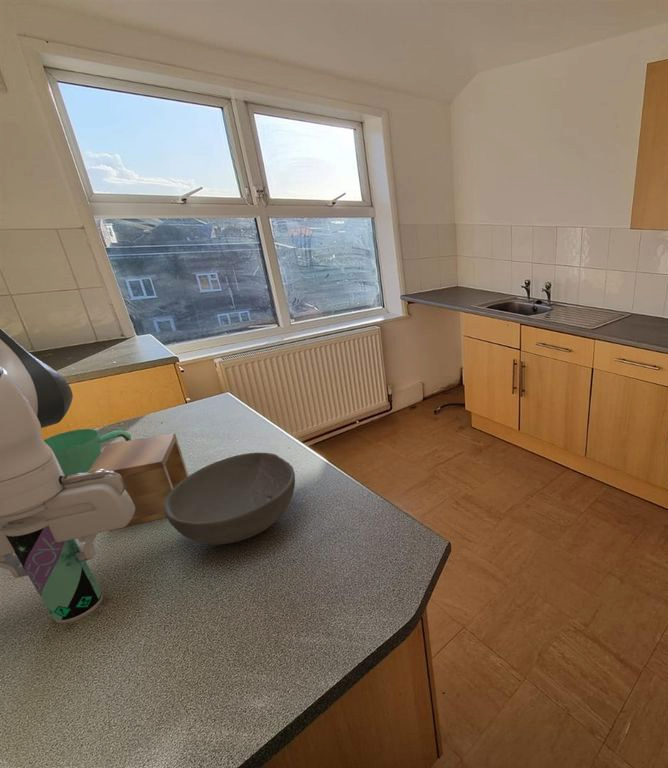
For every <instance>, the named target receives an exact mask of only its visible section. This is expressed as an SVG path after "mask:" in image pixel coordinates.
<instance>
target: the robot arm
mask: <svg viewBox="0 0 668 768" xmlns="http://www.w3.org/2000/svg"><path fill="white" fill-rule="evenodd" d="M73 397H74V393H73V390H72V388H71V386H70V384H69V383H68V381H67V380H66V379H65V378H64V377H63V376H62V375H61V374H60V373H59V372H58V371H56V370H55V369H54V368H52V367H51V366H49V365H48V364H47V363H45V362H43V361H42V360H40V359H38V358H37V357H36V356H34V355H33V354H32V353H30V352H29V351H27V349H25V348H24V347H23V345H20V344H19V343H18V342H17V341H16V340H15V339H13V338H12V336H10V335H9V334H8V333H7V332H6V331H4V330H3V329H2V328H1V327H0V568H2V569H4V570H7V571H10V573H11V575H12V577H13V578H14V579H19V578H22V577H26V576H28V574H27V573H26V571H25V569H24V567H23V566H22V564H21V562H20V561H19V559H18V557H17V555H16V554H15V551H14V549H13V547H12V546H11V544H10V542H9V541H8V539H7V537H6V536H5V534H4V532H5V530H4V529H2V527H4V526H5V525H6V524H8V523H9V522H11V521H13V520H17V519H21V518H25V517H28V516H34V517H42V518H45V517H47V520H46V521H44V522H45V523H48V525H49V528H50V530H51V532H52V534H53V537H54V539H55V540H56V541H57V542H63V541H67V540H72V539H75V540H76V539H77V540H78V541H79V543H84V544H81V545H78V547H79V548H78V550H77V551H76V553H75V556H76V558H78V562H82V561H86V562H87V561H90V560H93V559H94V558H95V556H96V553H97V550H96V548H95V546H94V542H95V539H96V537H97V535H98V534H102V533H105V532H110V531H114V530H119V529H123V528H126V527H127V526H126V525H127V524H128V523H129V522H130V520H131V519H132V517H133V515H134V512H135V506H134V503H133V501H132V500H131V498H130V496H129V494H128V493H127V491H126V490H125V485H124V482H123V479H122V477H121V475H120V474H118V473H115V472H112V471H105V470H104V469H100V470H94V471H91V472H86V473H78V474H72V475H66V476H64V473H63V471H62V469H61V467H60V465H59V463H58V460H57V458H56V456H55V454H54V452H53V450H52V449H51V448H50V447H49V446H48V445H47V444H46V443H45V442H44V440H45V439H43V436H42V429H43V428H47V427H50V426H53V425H57V424H59V423H60V422H61V421H62V420H63V419H64V418H65V416H66V414H67V413H68V411H69V409H70V407H71V405H72V402H73ZM106 474H108V475H106ZM125 526H126V527H125Z"/></svg>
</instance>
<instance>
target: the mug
mask: <svg viewBox="0 0 668 768" xmlns="http://www.w3.org/2000/svg"><path fill="white" fill-rule="evenodd" d="M121 437H122V438H123V439H124V441H129V440H132V437H131V433H130V432H127V431H125V430H123V429H117V430H114V431H110V432H107V433H104V434H102V435H100V432H99V431H98V429H94V428H81V429H80V428H79V429H73V430H69V431H68V430H67V431H64V432H59V433H58V434H54V435H51V436H49V437H46V438H44V439H43V440H44V442H45V443H46V444H47V445H48V446H49V447H50V448H51V449H52V450H53V452H54V454H55V456H56V458H57V460H58V463H59V465H60V467H61V469H62V471H63V473H64V476H66V475H72V474H78V473H86V472H88V470H89V469H90V468H91V466H92V465H93V463H94V462H95V461H96V459H97V458H98V456H99V455H100V454H101V452H102V447H101V444H103V443H105V442H107V441H110V440H112V439H115V438H116V439H117V438H121Z"/></svg>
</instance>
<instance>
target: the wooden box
mask: <svg viewBox="0 0 668 768" xmlns="http://www.w3.org/2000/svg"><path fill="white" fill-rule="evenodd" d="M100 469H104V470H105V471H112V472H115V473H118V474H120V475H121V477H122V479H123V482H124V485H125V490H126V491H127V493H128V494H129V496H130V498H131V500H132V501H133V503H134V506H135V512H134V515H133V517H132V519H131V520H130V522H129V523H128V524H127V525H126V526H125V527H124V528H126V527H130V526H131V527H132V526H135V525H140V524H143V523H147V522H152V521H156V520H161V519H164V518H167V517H166V515H165V512H164V502H165V500H166V498H167V496H168V494H169V493H170V492H171V491H172V489H173V488H174V487H175V486H176V485H177V484H179V483H180V482H181V481H182V480H184V479H185V478H187V477H188V476H189V475H190V474H189V472H188V469H187V466H186V463H185V459H184V455H183V453H182V449H181V447H180V445H179V441H178V438H177V434H176V432H171V433H165V434H160V435H154V436H153V435H152V436H148V437H142V438H135V439H131V440H129V441H125V440H123V441H118V442H112V443H111V442H110V443H107V444H106V445H105V447H104V448H103V449H102V450H101V454H100V455H99V456H98V458H97V459H96V461H95V462H94V463H93V465H92V466H91V468H90V469H89V470H88V472H91V471H94V470H100ZM106 475H108V474H106Z"/></svg>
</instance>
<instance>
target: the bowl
mask: <svg viewBox="0 0 668 768" xmlns="http://www.w3.org/2000/svg"><path fill="white" fill-rule="evenodd" d="M188 475H189V476H188V477H187V478H185V479H184V480H182V481H181V482H180V483H179V484H177V485H176V486H175V487H174V488H173V489H172V491H171V492H170V493H169V494H168V496H167V498H166V500H165V502H164V512H165V515H166V517H165V518H166V519H167V521H168V522H169V523H170V525H171V526H172V527H173V528H174V529H175V530H176V531H177V532H178V533H179V534H181V536H183V537H185V538H187V539H189V540H191V541H193V542H196V543H199V544H200V543H201V544H205V545H228V544H233V543H237V542H241V541H244V540H247V539H249V538H252V537H254V536H256V535H259V534H260V533H262V532H264V531H265V530H267V529H269V527H271V526H272V525H273V524H275V523H276V522H277V521H278V520H280V518H281V517H282V516H283V514H284V513H285V511H286V510H287V508H288V507H289V505H290V503H291V501H292V498H293V495H294V491H295V487H296V473H295V470H294V467H293V465H291V463H289V462H288V461H287V460H285V459H284V458H282V457H280V456H279V455H277V454H275V453H271V452H247V453H242V454H237V455H233V456H230V457H226V458H224V459H220V460H218V461H216V462H213V463H211V464H208V465H206V466H204V467H202V468H200V469H198V470H196V471H194V472H193V473H191V474H188Z"/></svg>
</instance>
